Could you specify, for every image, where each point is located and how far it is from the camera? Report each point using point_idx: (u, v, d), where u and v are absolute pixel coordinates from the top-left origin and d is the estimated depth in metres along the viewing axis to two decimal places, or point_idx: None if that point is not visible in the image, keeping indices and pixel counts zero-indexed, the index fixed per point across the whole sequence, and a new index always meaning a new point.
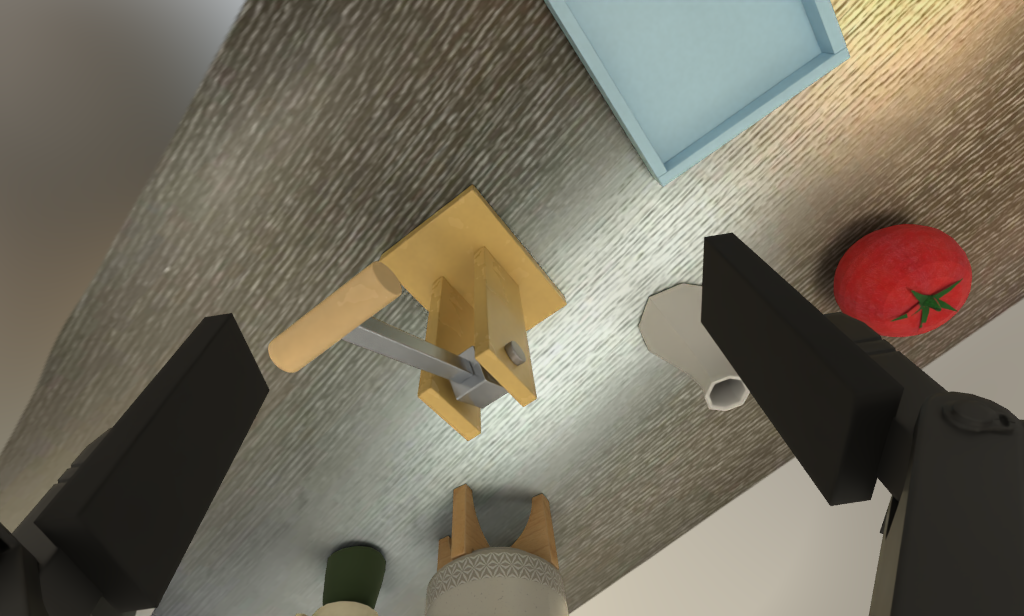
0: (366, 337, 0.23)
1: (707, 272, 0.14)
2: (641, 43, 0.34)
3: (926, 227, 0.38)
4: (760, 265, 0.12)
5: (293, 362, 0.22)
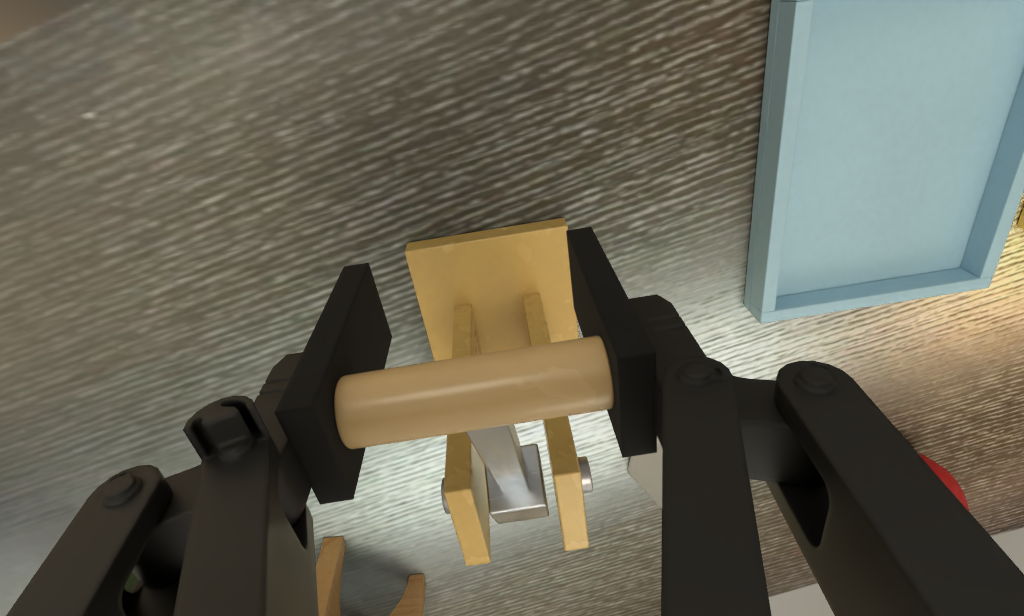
0: (492, 431, 0.13)
1: (570, 262, 0.16)
2: (827, 168, 0.28)
3: (945, 469, 0.37)
4: (598, 254, 0.14)
5: (372, 439, 0.12)
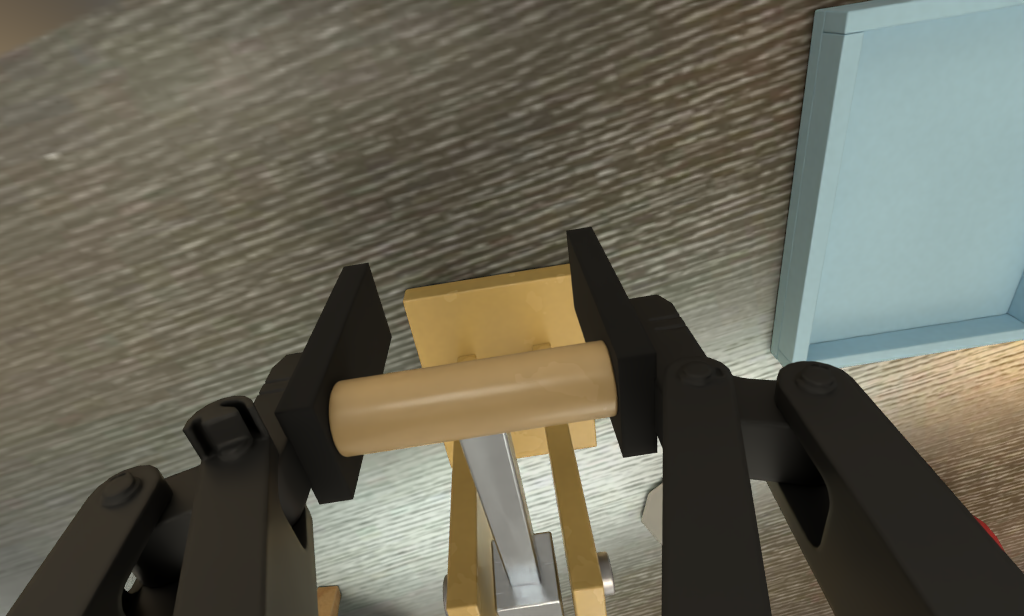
0: (493, 455, 0.12)
1: (570, 262, 0.16)
2: (868, 210, 0.26)
3: (984, 523, 0.35)
4: (599, 254, 0.14)
5: (364, 439, 0.11)
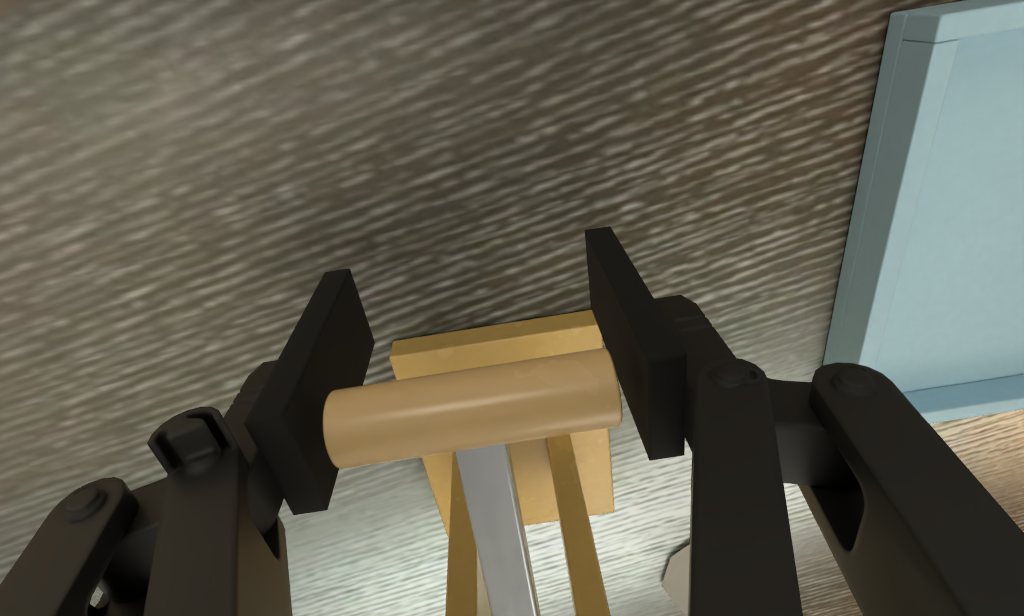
0: (492, 483, 0.11)
1: (589, 262, 0.16)
2: (940, 250, 0.22)
3: None
4: (620, 254, 0.14)
5: (355, 437, 0.11)
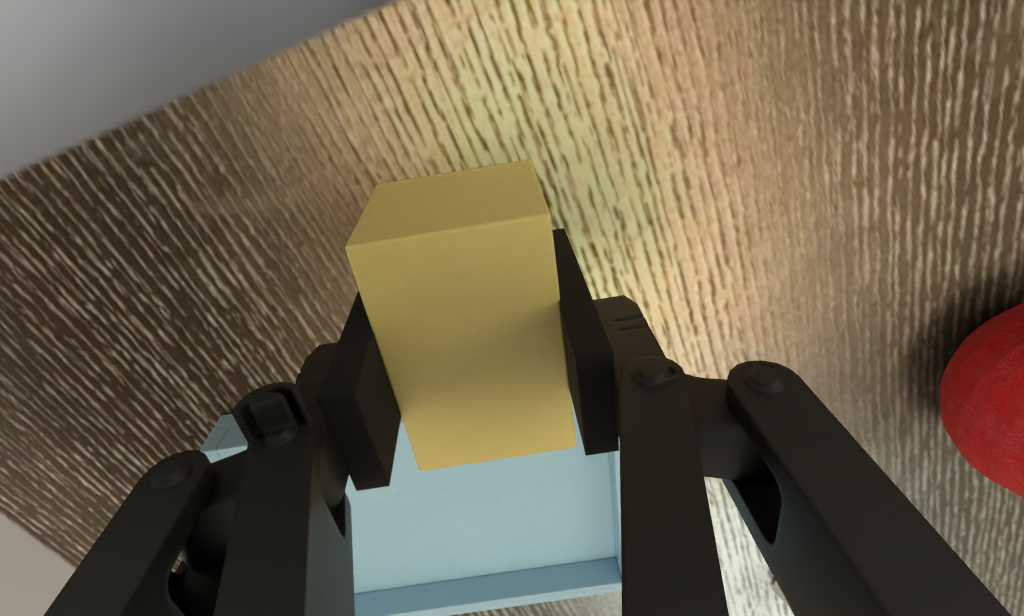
0: None
1: None
2: (467, 544, 0.27)
3: (1020, 351, 0.19)
4: (568, 256, 0.14)
5: None
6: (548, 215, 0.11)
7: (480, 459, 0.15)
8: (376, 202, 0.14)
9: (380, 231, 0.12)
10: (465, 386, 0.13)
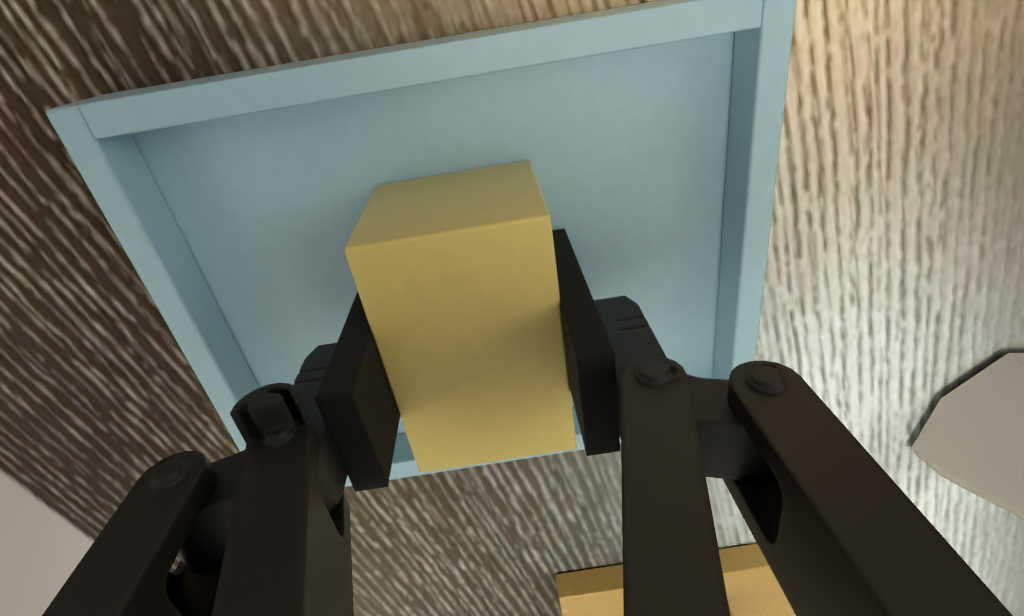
0: None
1: None
2: None
3: None
4: (569, 256, 0.14)
5: None
6: (548, 217, 0.11)
7: (480, 460, 0.15)
8: (375, 204, 0.14)
9: (379, 233, 0.12)
10: (465, 387, 0.13)
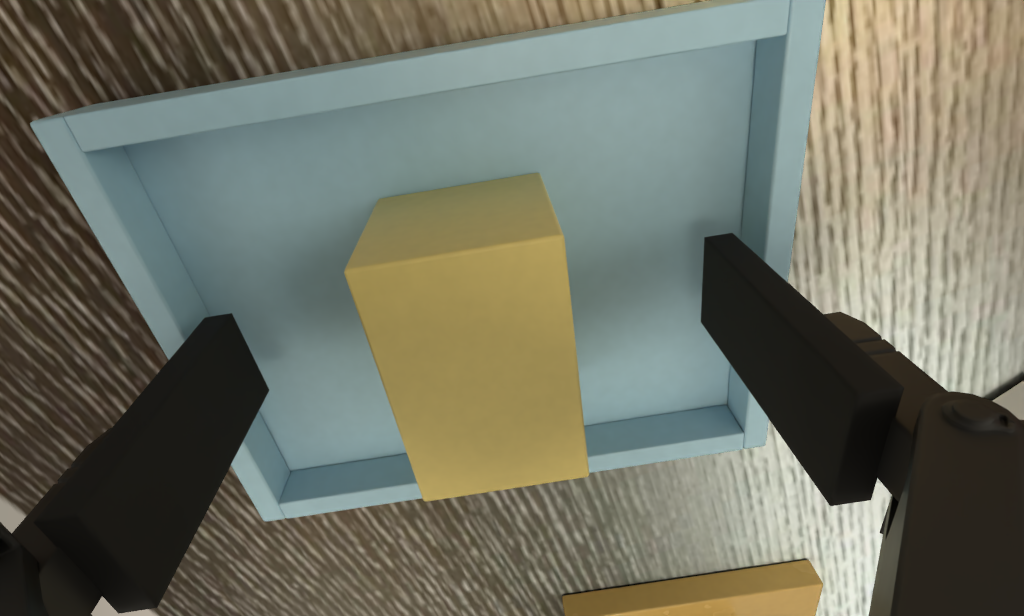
0: None
1: (707, 272, 0.14)
2: None
3: None
4: (760, 265, 0.12)
5: None
6: (561, 237, 0.11)
7: (487, 489, 0.14)
8: (378, 220, 0.13)
9: (381, 253, 0.11)
10: (471, 414, 0.13)
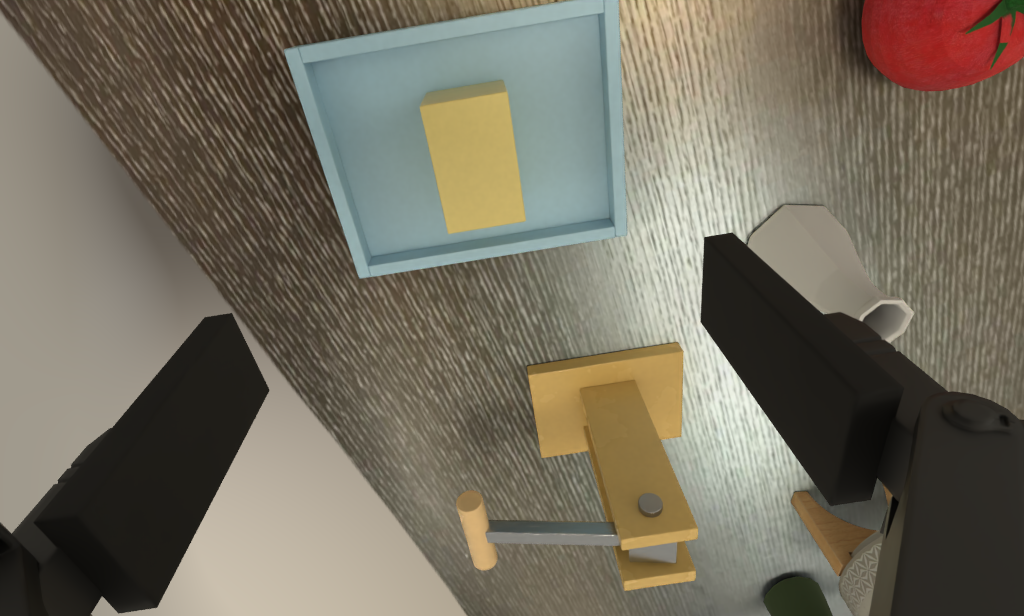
0: (500, 537, 0.34)
1: (707, 272, 0.14)
2: None
3: None
4: (760, 265, 0.12)
5: (478, 564, 0.35)
6: (506, 92, 0.26)
7: (478, 227, 0.30)
8: (428, 96, 0.29)
9: (434, 101, 0.27)
10: (471, 182, 0.29)
